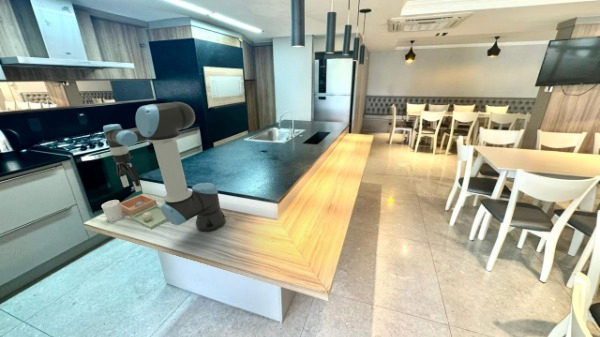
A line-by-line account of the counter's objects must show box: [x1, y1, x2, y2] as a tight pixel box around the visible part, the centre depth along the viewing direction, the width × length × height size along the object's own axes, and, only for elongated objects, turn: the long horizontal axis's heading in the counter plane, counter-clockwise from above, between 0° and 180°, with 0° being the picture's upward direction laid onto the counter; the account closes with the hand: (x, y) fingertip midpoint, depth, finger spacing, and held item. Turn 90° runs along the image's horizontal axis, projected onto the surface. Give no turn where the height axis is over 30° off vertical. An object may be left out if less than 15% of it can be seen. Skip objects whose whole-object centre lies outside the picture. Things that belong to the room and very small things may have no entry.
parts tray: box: [130, 204, 169, 230], centre depth 131 cm, size 20×15×2 cm
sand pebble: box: [142, 212, 153, 221], centre depth 127 cm, size 5×5×5 cm
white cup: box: [101, 199, 124, 222], centre depth 129 cm, size 8×8×10 cm
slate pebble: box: [135, 202, 145, 208], centre depth 138 cm, size 5×5×5 cm
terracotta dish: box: [120, 193, 158, 217], centre depth 139 cm, size 15×14×5 cm
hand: (132, 188), depth 132 cm, fingers open, 13 cm apart
